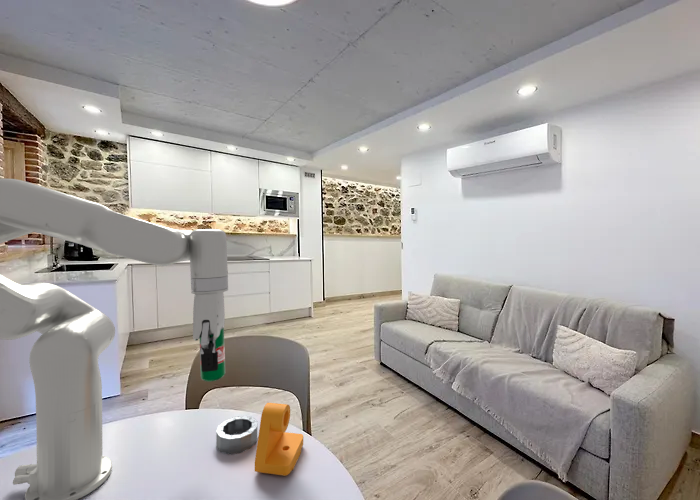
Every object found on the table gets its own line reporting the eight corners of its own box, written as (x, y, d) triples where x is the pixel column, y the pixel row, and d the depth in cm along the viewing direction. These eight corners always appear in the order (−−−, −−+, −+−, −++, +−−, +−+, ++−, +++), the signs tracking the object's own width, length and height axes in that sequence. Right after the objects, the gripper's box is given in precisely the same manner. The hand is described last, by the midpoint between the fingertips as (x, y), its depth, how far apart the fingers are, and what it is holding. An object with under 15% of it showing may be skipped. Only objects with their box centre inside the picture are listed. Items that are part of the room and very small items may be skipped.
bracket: (288, 480, 62) (289, 421, 62) (254, 475, 64) (254, 417, 63) (304, 445, 73) (304, 395, 73) (275, 442, 74) (275, 392, 74)
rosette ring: (213, 456, 69) (213, 441, 69) (220, 432, 78) (220, 418, 77) (256, 450, 71) (256, 435, 71) (258, 427, 80) (258, 414, 80)
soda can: (216, 383, 67) (214, 328, 66) (195, 381, 68) (193, 327, 67) (229, 373, 72) (228, 322, 71) (210, 371, 73) (208, 321, 72)
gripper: (201, 280, 77) (203, 353, 77) (179, 292, 60) (183, 384, 61) (233, 279, 78) (235, 350, 79) (220, 290, 62) (224, 380, 62)
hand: (212, 364), depth 70 cm, fingers closed on soda can, 5 cm apart
